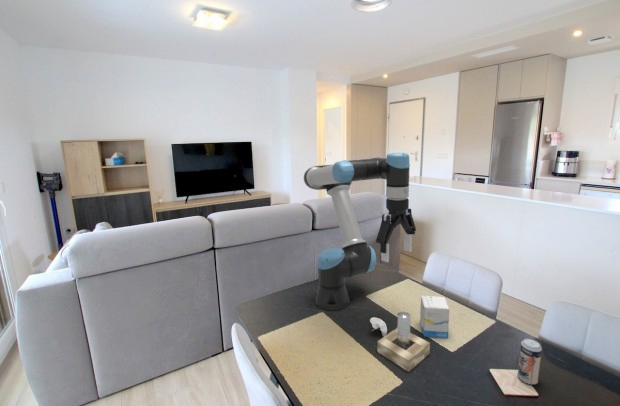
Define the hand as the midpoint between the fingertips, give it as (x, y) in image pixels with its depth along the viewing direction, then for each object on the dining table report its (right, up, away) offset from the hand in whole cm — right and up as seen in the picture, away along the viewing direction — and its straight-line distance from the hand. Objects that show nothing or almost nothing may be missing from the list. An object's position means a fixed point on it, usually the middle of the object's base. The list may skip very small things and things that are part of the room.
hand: (396, 255), depth 108 cm
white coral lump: (-5, -29, +3) cm, 30 cm away
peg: (0, -31, -8) cm, 32 cm away
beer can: (+32, -32, -21) cm, 50 cm away
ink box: (+14, -28, +3) cm, 32 cm away
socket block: (0, -31, -8) cm, 32 cm away
